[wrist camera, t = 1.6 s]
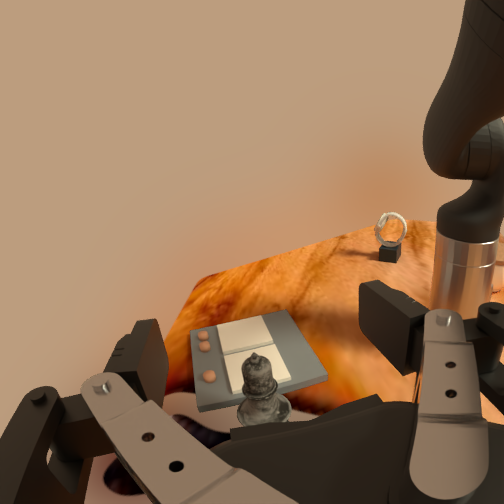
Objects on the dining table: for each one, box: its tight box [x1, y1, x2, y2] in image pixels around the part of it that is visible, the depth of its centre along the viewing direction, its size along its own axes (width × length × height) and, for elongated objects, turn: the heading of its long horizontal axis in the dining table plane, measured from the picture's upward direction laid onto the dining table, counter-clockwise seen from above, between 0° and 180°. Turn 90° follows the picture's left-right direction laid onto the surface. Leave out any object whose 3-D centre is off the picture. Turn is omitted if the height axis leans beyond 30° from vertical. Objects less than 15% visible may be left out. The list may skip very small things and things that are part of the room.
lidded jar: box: [492, 242, 504, 292], centre depth 48 cm, size 11×11×9 cm
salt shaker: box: [237, 352, 291, 427], centre depth 30 cm, size 6×6×12 cm
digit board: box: [190, 309, 328, 412], centre depth 44 cm, size 17×18×2 cm
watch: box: [374, 212, 407, 263], centre depth 68 cm, size 6×8×11 cm
